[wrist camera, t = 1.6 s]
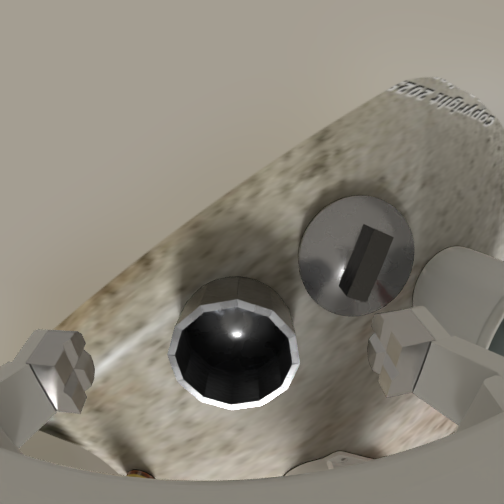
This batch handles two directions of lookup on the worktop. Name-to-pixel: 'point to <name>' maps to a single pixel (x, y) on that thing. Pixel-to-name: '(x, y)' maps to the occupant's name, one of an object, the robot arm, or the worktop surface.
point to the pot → (234, 344)
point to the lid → (356, 255)
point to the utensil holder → (465, 295)
